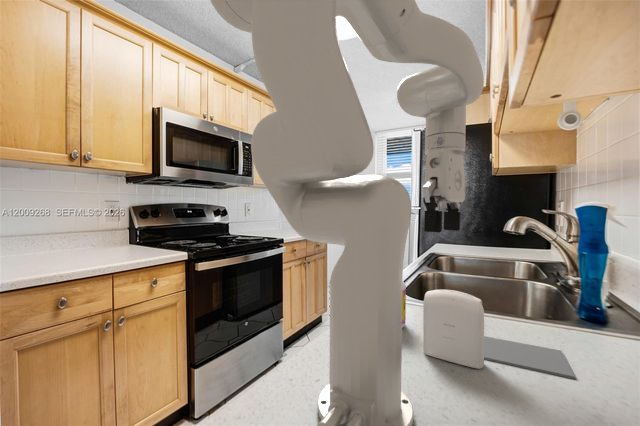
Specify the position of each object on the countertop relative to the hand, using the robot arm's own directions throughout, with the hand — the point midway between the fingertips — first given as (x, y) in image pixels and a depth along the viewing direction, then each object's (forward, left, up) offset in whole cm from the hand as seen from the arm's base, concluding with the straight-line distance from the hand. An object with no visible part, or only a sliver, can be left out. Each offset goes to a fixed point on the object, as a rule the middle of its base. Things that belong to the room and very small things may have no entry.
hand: (442, 231), depth 61 cm
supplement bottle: (+4, +11, -23) cm, 26 cm away
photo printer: (-6, -3, -23) cm, 24 cm away
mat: (+1, -14, -23) cm, 27 cm away
